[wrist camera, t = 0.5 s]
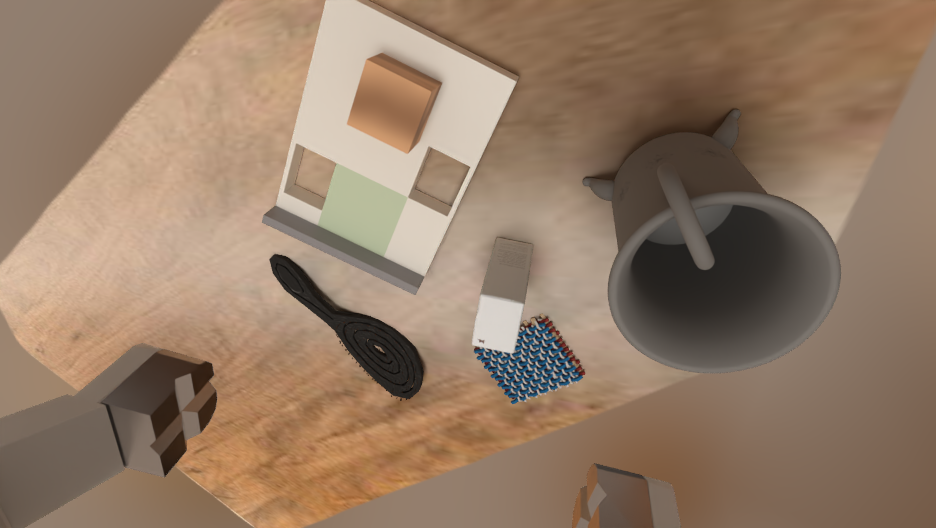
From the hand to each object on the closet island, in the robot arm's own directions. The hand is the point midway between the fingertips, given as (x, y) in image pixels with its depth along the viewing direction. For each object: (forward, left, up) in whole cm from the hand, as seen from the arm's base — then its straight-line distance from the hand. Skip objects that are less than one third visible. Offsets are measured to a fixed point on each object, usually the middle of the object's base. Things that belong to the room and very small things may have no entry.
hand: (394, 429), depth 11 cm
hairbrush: (+37, -8, -43) cm, 57 cm away
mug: (+3, +16, -42) cm, 45 cm away
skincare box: (+19, +7, -42) cm, 47 cm away
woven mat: (+30, +15, -43) cm, 54 cm away
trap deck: (+13, -10, -42) cm, 45 cm away
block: (+7, -10, -40) cm, 41 cm away
